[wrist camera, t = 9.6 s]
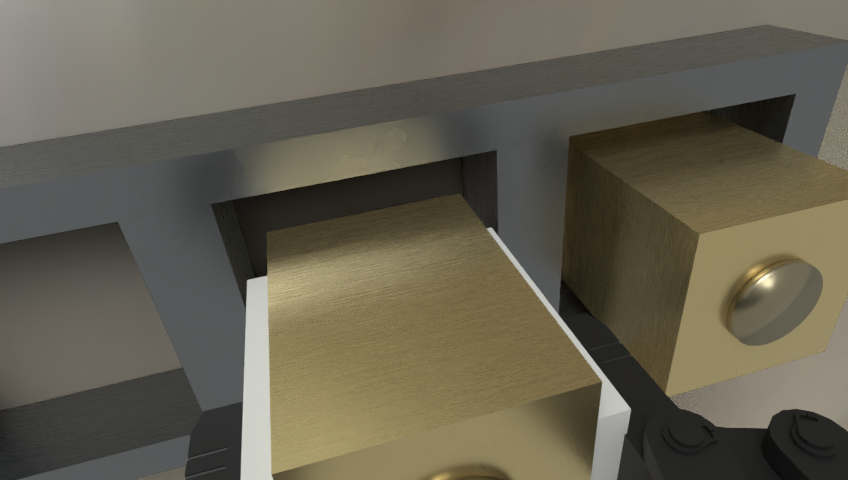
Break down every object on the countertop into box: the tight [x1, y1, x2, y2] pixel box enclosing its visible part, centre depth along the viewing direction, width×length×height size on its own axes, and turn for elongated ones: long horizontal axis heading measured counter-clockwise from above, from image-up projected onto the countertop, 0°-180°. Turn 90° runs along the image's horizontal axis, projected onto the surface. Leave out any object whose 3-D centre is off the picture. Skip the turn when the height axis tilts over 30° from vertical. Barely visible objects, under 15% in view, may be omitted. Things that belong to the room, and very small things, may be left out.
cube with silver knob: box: [267, 193, 602, 480], centre depth 12 cm, size 5×5×7 cm
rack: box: [0, 25, 848, 480], centre depth 16 cm, size 9×28×3 cm, turn 95°
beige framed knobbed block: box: [561, 111, 848, 397], centre depth 16 cm, size 5×5×7 cm
